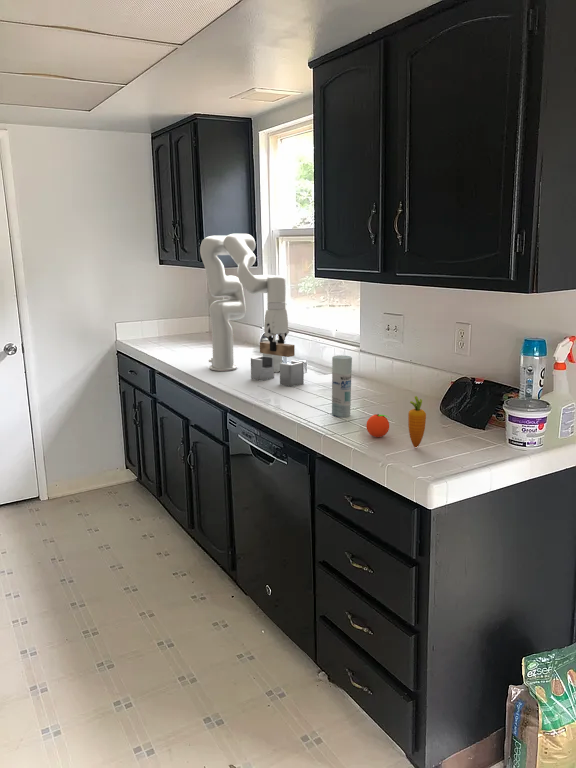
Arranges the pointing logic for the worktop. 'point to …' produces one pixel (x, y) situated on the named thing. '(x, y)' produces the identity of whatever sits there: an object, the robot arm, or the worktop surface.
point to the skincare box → (276, 358)
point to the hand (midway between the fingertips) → (277, 349)
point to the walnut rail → (278, 349)
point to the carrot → (416, 422)
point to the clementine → (377, 425)
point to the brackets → (288, 372)
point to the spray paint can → (341, 385)
